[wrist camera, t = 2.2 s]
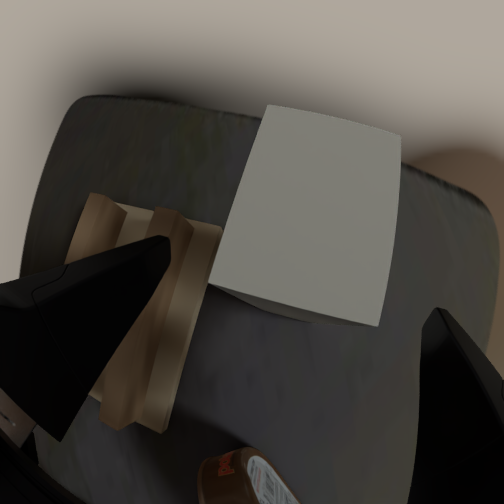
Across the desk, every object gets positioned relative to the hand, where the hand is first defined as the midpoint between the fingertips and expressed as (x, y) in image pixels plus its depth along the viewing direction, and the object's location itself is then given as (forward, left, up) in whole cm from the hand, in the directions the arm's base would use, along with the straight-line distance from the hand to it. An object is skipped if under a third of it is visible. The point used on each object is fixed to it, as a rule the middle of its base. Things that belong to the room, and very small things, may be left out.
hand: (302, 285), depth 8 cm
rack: (-2, +11, -9) cm, 14 cm away
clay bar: (+1, 0, -9) cm, 9 cm away
